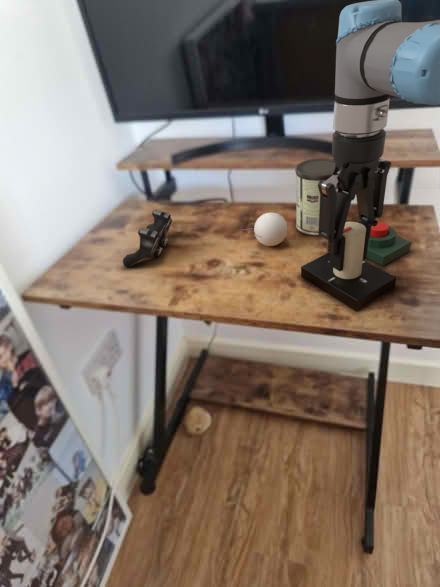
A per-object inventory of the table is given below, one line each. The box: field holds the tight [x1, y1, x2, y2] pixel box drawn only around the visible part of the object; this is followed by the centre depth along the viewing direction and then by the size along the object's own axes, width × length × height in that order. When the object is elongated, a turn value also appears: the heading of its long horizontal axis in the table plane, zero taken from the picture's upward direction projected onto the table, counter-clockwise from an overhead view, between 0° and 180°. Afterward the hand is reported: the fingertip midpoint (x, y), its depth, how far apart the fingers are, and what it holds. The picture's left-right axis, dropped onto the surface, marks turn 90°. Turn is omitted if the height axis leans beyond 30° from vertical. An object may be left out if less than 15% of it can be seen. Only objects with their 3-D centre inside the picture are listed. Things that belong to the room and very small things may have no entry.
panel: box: [300, 252, 398, 312], centre depth 75 cm, size 14×10×3 cm
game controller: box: [122, 209, 173, 268], centre depth 92 cm, size 16×7×10 cm, turn 167°
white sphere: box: [242, 212, 288, 247], centre depth 89 cm, size 10×7×7 cm
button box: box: [366, 226, 412, 267], centre depth 83 cm, size 10×8×4 cm
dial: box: [333, 221, 366, 279], centre depth 72 cm, size 5×5×9 cm
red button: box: [370, 221, 390, 238], centre depth 81 cm, size 4×4×2 cm
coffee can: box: [294, 157, 335, 236], centre depth 91 cm, size 10×10×14 cm
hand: (347, 261), depth 73 cm, fingers closed on dial, 5 cm apart
